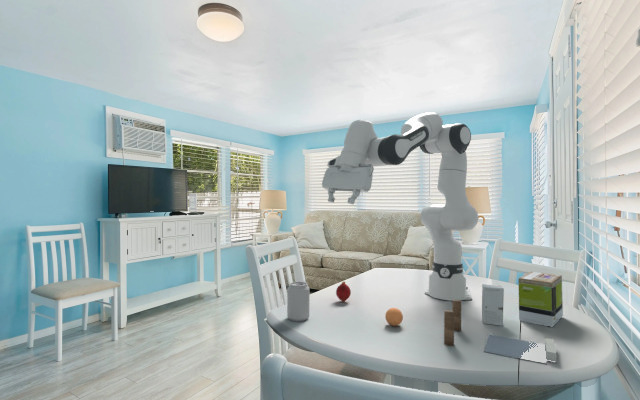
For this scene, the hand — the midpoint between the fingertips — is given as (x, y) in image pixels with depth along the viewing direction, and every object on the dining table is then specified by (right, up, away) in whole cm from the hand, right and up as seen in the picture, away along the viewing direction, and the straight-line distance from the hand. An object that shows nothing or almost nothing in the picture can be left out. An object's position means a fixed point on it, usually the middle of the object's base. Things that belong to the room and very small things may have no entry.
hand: (340, 202), depth 116 cm
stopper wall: (+53, -39, -25) cm, 71 cm away
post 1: (+29, -39, -19) cm, 52 cm away
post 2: (+36, -39, -8) cm, 54 cm away
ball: (+17, -37, -4) cm, 41 cm away
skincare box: (+50, -40, -1) cm, 64 cm away
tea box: (+69, -40, +3) cm, 80 cm away
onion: (+3, -40, +22) cm, 46 cm away
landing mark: (+46, -39, -21) cm, 64 cm away
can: (-14, -39, +2) cm, 42 cm away
